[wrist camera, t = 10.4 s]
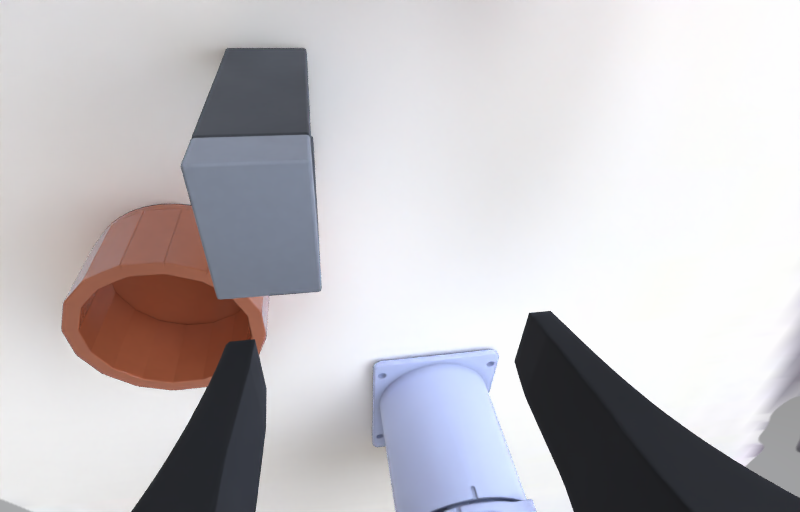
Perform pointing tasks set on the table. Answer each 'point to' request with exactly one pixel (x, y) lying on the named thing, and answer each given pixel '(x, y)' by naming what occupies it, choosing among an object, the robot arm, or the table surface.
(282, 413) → the table surface
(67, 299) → the holder
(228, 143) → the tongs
